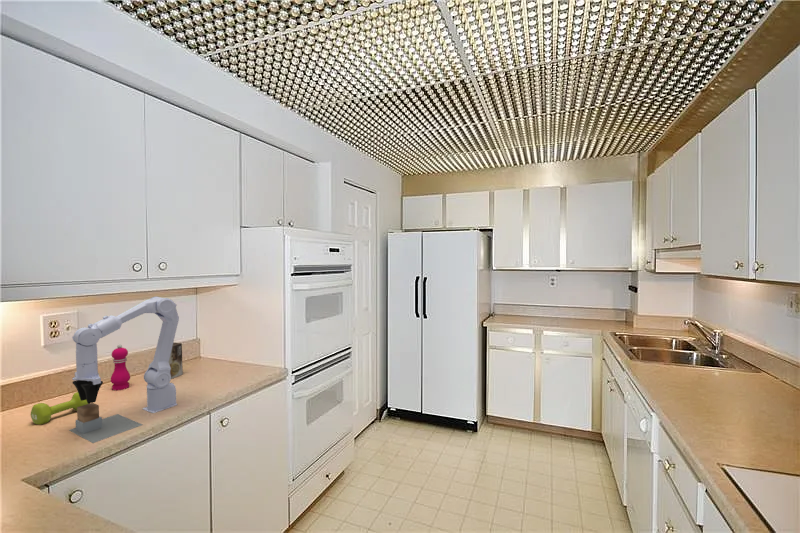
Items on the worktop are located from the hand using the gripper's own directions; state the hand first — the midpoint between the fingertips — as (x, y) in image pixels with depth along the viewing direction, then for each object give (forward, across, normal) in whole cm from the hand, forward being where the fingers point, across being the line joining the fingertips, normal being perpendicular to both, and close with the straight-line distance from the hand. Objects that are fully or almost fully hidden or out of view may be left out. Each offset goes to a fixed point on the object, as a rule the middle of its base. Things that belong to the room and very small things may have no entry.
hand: (88, 401), depth 132 cm
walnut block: (+6, 0, 0) cm, 6 cm away
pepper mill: (+10, -36, +26) cm, 46 cm away
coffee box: (+10, -32, +46) cm, 57 cm away
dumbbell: (+11, -22, 0) cm, 24 cm away
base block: (+10, 0, 0) cm, 10 cm away
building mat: (+10, +4, +4) cm, 12 cm away
